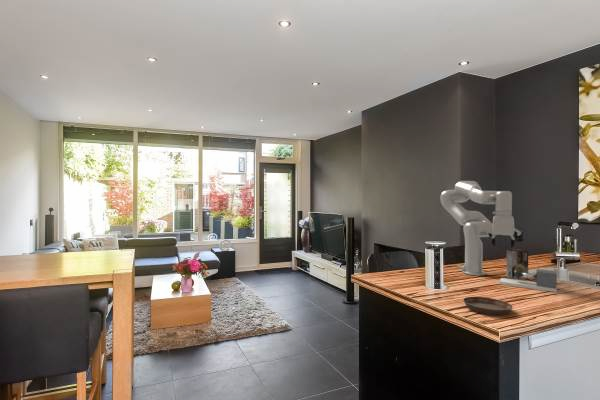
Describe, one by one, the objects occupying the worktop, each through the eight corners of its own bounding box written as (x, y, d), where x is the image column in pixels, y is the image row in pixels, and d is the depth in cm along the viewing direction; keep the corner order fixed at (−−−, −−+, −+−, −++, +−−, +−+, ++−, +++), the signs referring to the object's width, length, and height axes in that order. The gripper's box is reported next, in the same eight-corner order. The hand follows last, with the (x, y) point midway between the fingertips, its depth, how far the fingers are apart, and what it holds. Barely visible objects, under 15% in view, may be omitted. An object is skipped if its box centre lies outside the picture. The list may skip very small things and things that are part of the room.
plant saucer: (479, 300, 148) (480, 294, 148) (521, 313, 133) (522, 305, 133) (453, 306, 140) (454, 299, 140) (495, 320, 124) (495, 312, 124)
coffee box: (522, 276, 194) (522, 249, 194) (528, 279, 188) (529, 250, 188) (505, 276, 195) (506, 248, 195) (511, 278, 189) (512, 250, 189)
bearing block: (536, 285, 167) (536, 271, 167) (536, 282, 174) (536, 269, 174) (556, 288, 163) (556, 274, 163) (555, 285, 169) (555, 271, 169)
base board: (499, 284, 176) (499, 281, 176) (501, 280, 184) (501, 277, 184) (556, 292, 162) (556, 289, 162) (555, 287, 170) (555, 284, 170)
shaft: (514, 279, 174) (514, 270, 174) (514, 277, 178) (514, 268, 178) (541, 283, 168) (541, 273, 167) (541, 281, 172) (541, 271, 172)
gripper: (484, 213, 181) (483, 245, 181) (522, 214, 171) (522, 248, 171) (485, 213, 187) (485, 244, 187) (522, 214, 177) (522, 247, 177)
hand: (503, 246), depth 179 cm, fingers open, 7 cm apart
